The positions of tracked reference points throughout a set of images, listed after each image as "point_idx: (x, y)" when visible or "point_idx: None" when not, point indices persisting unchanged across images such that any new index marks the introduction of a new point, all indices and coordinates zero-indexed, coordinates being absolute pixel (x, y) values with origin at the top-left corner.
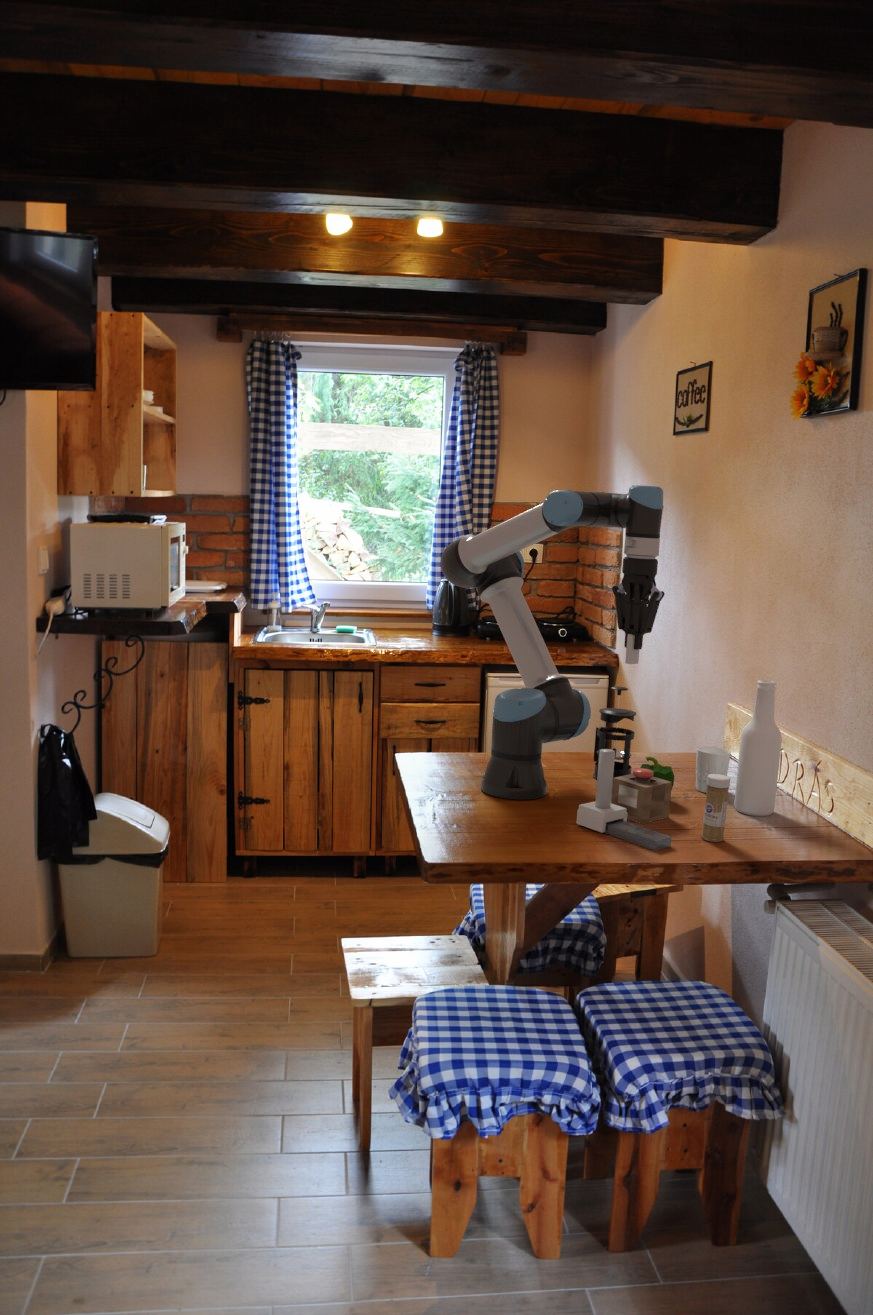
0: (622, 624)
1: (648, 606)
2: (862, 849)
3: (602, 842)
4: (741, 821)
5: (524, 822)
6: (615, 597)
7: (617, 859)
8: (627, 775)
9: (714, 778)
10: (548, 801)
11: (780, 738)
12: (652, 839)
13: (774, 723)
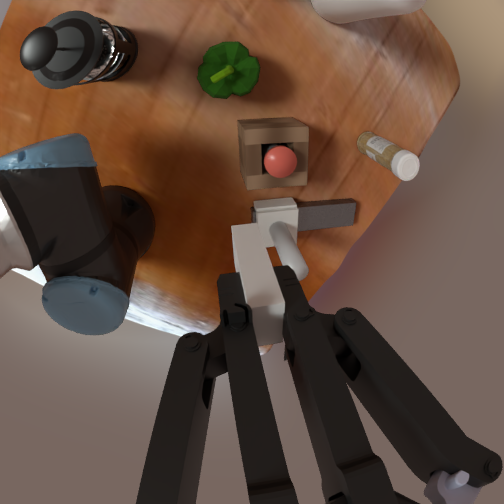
0: (214, 385)
1: (403, 446)
2: (452, 52)
3: (305, 246)
4: (350, 52)
5: (220, 273)
6: None
7: (338, 261)
8: (248, 161)
9: (408, 180)
10: (166, 209)
11: None
12: (348, 224)
13: None
